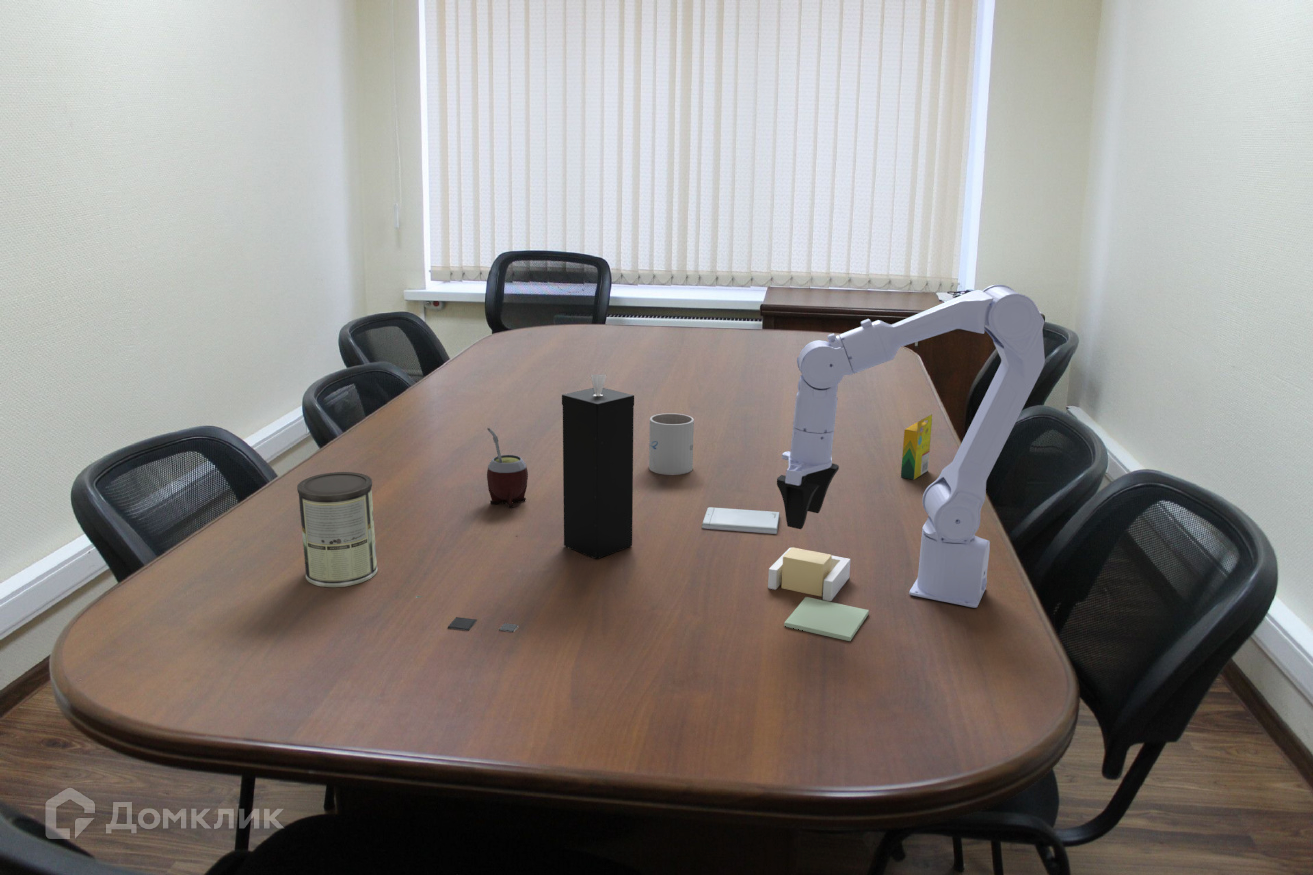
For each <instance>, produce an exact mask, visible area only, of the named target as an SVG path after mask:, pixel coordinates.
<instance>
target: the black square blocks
mask: <svg viewBox="0 0 1313 875" xmlns="http://www.w3.org/2000/svg"><path fill="white" fill-rule="evenodd" d="M415 598H417V599H418V598H422V596H421V595H416V596H415ZM476 621H477V622H478V619H476V618H469V617H467V618H466V617H458V616H456V617H455V618H454V619H453V620H452V621H451V622H450V624H449V625H448V626H447V629H450V630H457V631H458V630H459V631H468V632H469V631H470V630H471V629H472V627H473V626H475V624H476V623H477V622H476ZM518 628H519V625H518V624H515V623H505V622H504V623H503V624H502V625H501V626H500V627H499V629H498V630H499V632H507V633H514V632H515V631H516V630H517V629H518Z"/></svg>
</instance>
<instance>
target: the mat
mask: <svg viewBox="0 0 1313 875" xmlns="http://www.w3.org/2000/svg"><path fill="white" fill-rule="evenodd" d="M868 615H870V613H869V609H865V608H860V607H855V606H850V605H846V604H841V603H836V602H832V601H827V600H823V599H820V598H819V599H817V598H813V597H809V596H805V597H804V598H803V600H802V601H801V602H800V603H799V604H798V605H797V607H796V608H795V609H794V611H793V612H792V613H791V614H790V615H789V616H788V617H787V619H786V620H785V621H784V623H783V624H784V626H783V627H785V626H786V627H785V628H790V629H793V628H794V629H795V630H798V629H799V630H798V631H802V630H803V632H807V633H811V634H817V635H821V636H825V637H830V638H833V639H838V640H842V641H848V642H851V640H852V639H853V638H854V637H855V635H856V633H857V632H858V630H859V629H860V627H861V626H862V625H863V623H864V621H865V620H866V618H867V617H868ZM794 629H793V630H794Z"/></svg>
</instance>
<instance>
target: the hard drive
mask: <svg viewBox="0 0 1313 875" xmlns="http://www.w3.org/2000/svg"><path fill="white" fill-rule="evenodd" d="M780 516H781V514H780V511H769V510H768V511H767V510H755V509H754V510H753V509H752V510H751V509H739V508H726V507H711V506H710V507H707V509H706V512H705V514H704V518H703V521H702V524H701V525H702V526H701V528H702V529H708V530H720V531H731V532H733V531H734V532H747V533H756V534H757V533H759V534H760V533H761V534H774V535H777V534H778V528H779V523H780V522H779V521H780V518H781V517H780Z"/></svg>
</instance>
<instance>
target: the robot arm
mask: <svg viewBox="0 0 1313 875" xmlns="http://www.w3.org/2000/svg"><path fill="white" fill-rule="evenodd" d="M1044 325H1045V320H1044V318H1043V315H1042V314H1041V312H1040V310H1039V309H1038V306H1037V305H1036V304H1035V302H1034V301H1033V300H1032V298H1030V297H1029V296H1027V295H1025V294H1022V293H1019V292H1017V291H1016V290H1014V289H1013V288H1012V287H1010V286H1007V285H1005V284H993V285H988V286H987V287H985V288H984V289H982V290H981V289H976V290H972V291H969V292H966V293H964V294H962V295H959V296H957V297H956V296H955V297H954V298H952V299H949V300H948V301H945V302H943V303H940V304H938V305H936V306H933V307H931V308H929V309H926V310H923V311H920V312H919V313H917V314H913V315H911V316H909V317H907V318H905V319H902V320H900V321H897V322H895V323H892V324H890V323H888V322H884V321H883V320H881V319H880V320H879V319H877V320H875V321H872V320H871V319H869V318H867V319H864V320H862V321H860V326H859V327H856V328H854V329H853V328H852V329H850V330H848V331H845V332H843V333H840V334H837V335H835V333H834V332H833V333H830V334H828V335H826V337H827V340H828V341H827V340H819V339H817V340H813V341H810V342H809V343H807V344H806V345H805V346H804V347H803V348H802V349H801V350H800V353H799V355H798V357H797V358H796V364H797V367H798V371H800V374H801V375H799V379H798V383H797V393H796V395H795V403H794V413H793V422H792V431H791V432H792V434H791V441H790V443H791V444H790V451H789V450H788V451H784V452H783V453H781V459H782V460H785V461H787V463H788V465H787V466H788V468H787V469H786V471H785V474H784V475H783V474H781V475H779V476H778V477H776V486H777V488H778V490H779V493H780V494H781V497H782V501H783V506H784V513H785V521H786V525H787V527H788V528H793V529H797V530H802V529H804V526H805V523H806V521H807V515H808V512H810V513H814V514H819V513H820V511H821V510H822V508H823V507H822V506H823V504H824V501H825V497H826V494H827V492H828V489H829V487H830V484H831V482H832V480H833V479H834V477H835V475H836V474H837V472H838V471H839V469H840V466H839V465H838V464H837V463H834V462H833V459H832V453H833V445H834V444H833V442H834V436H835V435H834V434H835V426H836V419H837V418H836V416H837V409H838V387H839V384H840V383H841V381H842V380H843V378H844V377H845V376H852V375H853V374H857V373H859V372H860V373H861V372H862V371H865V370H867V369H871V368H874V367H876V366H880V365H882V364H885V363H887V362H889V361H893V360H894V359H895V357H896V355H897V353H898V351H899V350H900V349H901V348H902V347H905V346H908V345H911V344H914V343H917V342H920V341H924V340H927V339H929V338H932V337H936V336H939V335H942V334H946V333H949V332H951V331H955V330H963V331H968V332H972V333H977V334H985V332H986V333H987V334H988V335H989V337H990V338H991V339H992V342H993V345H994V346H995V349H996V351H997V353H998V355H999V357H1000V364H999V366H998V368H997V371H996V372H995V374H994V377H993V378H992V380H991V381H990V384H989V386H988V389H987V391H986V392H985V395H984V397H983V399H982V401H981V403H980V405H979V406H978V409H977V411H976V413H975V415H974V417H973V419H972V421H971V424H970V426H969V427H968V428H967V432H966V433H965V436H964V437H963V440H962V441H961V443H960V445H959V447H958V450H957V452H956V453H955V456H954V458H953V459H952V461H951V463H949V464H948V465H946V466H945V467H944V468H942V470H941V472H940V474H939V476H937V479H935V481H933V482H932V483H930V484H929V485H928V486H927V487H926V488H925V490H924V492H923V495H922V499H921V501H922V508H923V509H924V511H925V512H926V514H927V515H928V517H927V519H926V521H925V523H924V524H923V525H922V528H921V529H922V531H921V539H920V550H919V561H918V562H919V564H918V569H917V570H918V571H917V578H916V580H915V582H914V583H913V585H912V587H911V588H910V590H909V593H908V594H909V595H910V596H912V597H913V596H914V597H919V598H924V599H929V600H934V601H937V602H944V603H949V604H952V605H959V606H964V607H967V608H974V609H975V608H978V606H979V604H980V602H981V599H982V597H983V595H984V593H985V591H986V588H987V584H988V578H987V576H988V568H989V561H990V560H989V559H990V552H991V551H990V547H991V546H990V545H991V544H990V543H991V542H990V541H991V540H988V539H985V538H983V537H979V536H977V535H976V533H977V532H978V531H979V528H980V525H981V513H982V512H981V510H982V507H983V505H984V503H985V501H986V495H987V494H986V492H987V490H986V489H987V481H988V478H989V476H990V474H991V472H992V470H993V469H994V466H995V464H996V462H997V460H998V459H999V457H1000V454H1001V452H1002V450H1003V448H1004V446H1005V444H1006V442H1007V440H1008V439H1009V436H1010V435H1011V432H1012V430H1013V428H1014V426H1015V424H1016V423H1017V420H1018V419H1019V417H1020V415H1021V412H1022V411H1023V409H1024V407H1025V404H1027V401H1028V398H1029V397H1030V395H1031V393H1032V390H1033V389H1034V387H1035V384H1036V383H1037V381H1038V379H1039V377H1040V376H1041V373H1042V371H1043V369H1044V367H1045V362H1046V358H1045V346H1044V334H1043V328H1044Z"/></svg>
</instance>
